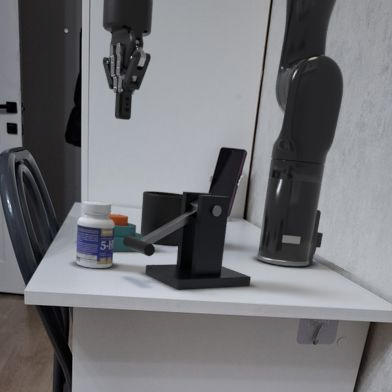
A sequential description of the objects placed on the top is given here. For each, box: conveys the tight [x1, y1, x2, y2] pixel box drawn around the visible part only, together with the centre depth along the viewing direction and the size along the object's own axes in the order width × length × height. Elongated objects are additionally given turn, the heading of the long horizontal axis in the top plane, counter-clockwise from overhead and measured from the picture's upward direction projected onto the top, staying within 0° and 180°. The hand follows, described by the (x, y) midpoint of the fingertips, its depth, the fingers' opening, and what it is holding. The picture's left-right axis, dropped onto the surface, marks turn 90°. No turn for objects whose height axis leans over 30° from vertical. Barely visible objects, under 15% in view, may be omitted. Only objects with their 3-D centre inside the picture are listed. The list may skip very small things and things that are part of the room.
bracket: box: [145, 191, 252, 290], centre depth 75 cm, size 12×9×12 cm
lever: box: [123, 199, 198, 257], centre depth 72 cm, size 13×6×2 cm, turn 125°
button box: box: [113, 222, 144, 252], centre depth 96 cm, size 10×8×4 cm
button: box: [109, 213, 129, 226], centre depth 95 cm, size 4×4×2 cm
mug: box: [140, 190, 183, 246], centre depth 107 cm, size 9×12×9 cm
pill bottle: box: [75, 200, 114, 269], centre depth 79 cm, size 5×5×9 cm
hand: (122, 119), depth 89 cm, fingers closed
